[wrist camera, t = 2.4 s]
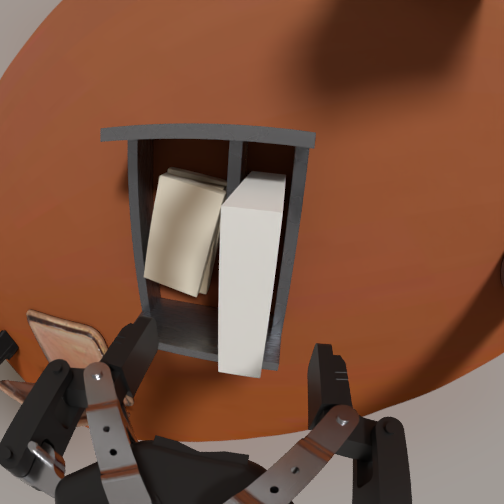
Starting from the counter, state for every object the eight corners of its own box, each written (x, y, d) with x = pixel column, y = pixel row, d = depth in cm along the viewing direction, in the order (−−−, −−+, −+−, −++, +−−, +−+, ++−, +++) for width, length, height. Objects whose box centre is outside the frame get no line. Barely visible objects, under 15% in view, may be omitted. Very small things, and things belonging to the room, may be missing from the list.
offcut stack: (235, 181, 25) (226, 191, 21) (212, 283, 30) (202, 304, 26) (171, 166, 25) (153, 173, 21) (157, 265, 30) (142, 284, 26)
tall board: (286, 174, 24) (282, 212, 13) (271, 291, 29) (259, 378, 18) (251, 170, 24) (221, 205, 14) (243, 288, 29) (218, 371, 19)
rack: (308, 131, 22) (315, 132, 15) (281, 323, 30) (277, 370, 24) (144, 125, 23) (100, 128, 17) (154, 303, 32) (127, 341, 25)
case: (65, 380, 47) (32, 430, 33) (25, 305, 38) (-26, 357, 24) (140, 406, 45) (110, 472, 30) (102, 325, 36) (45, 404, 21)
